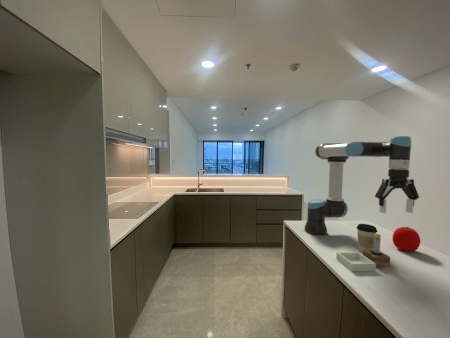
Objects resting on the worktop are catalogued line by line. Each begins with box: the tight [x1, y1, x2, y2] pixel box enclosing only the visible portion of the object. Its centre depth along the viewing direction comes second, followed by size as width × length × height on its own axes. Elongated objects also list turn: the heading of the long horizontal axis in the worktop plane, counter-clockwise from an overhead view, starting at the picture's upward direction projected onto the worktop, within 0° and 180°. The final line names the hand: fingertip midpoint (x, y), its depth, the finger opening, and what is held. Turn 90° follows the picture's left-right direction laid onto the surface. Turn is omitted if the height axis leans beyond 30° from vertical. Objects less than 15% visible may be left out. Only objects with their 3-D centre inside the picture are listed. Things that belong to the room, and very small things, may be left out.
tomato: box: [392, 226, 421, 253], centre depth 118 cm, size 13×11×14 cm
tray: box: [335, 251, 377, 272], centre depth 101 cm, size 12×12×4 cm
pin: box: [373, 233, 382, 256], centre depth 102 cm, size 3×3×15 cm
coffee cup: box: [356, 223, 378, 253], centre depth 115 cm, size 10×10×15 cm
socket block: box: [362, 250, 391, 268], centre depth 103 cm, size 8×8×5 cm
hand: (395, 212), depth 96 cm, fingers open, 13 cm apart
